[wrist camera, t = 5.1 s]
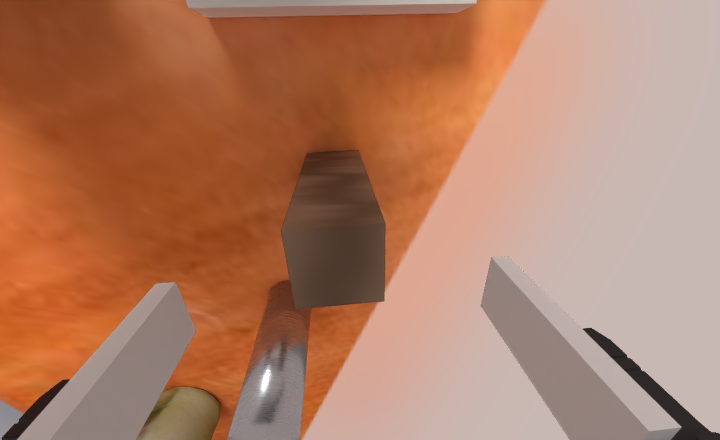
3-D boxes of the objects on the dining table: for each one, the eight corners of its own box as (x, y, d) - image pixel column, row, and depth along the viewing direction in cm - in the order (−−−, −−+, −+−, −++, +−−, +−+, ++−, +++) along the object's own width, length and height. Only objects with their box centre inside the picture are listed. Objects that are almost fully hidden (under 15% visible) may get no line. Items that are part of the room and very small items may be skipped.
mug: (241, 434, 39) (183, 525, 30) (183, 420, 42) (113, 500, 33) (225, 364, 36) (154, 444, 27) (163, 354, 39) (78, 423, 29)
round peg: (273, 314, 32) (236, 461, 20) (265, 282, 30) (218, 425, 18) (314, 310, 33) (303, 453, 20) (309, 278, 30) (294, 416, 18)
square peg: (312, 200, 26) (295, 309, 14) (307, 152, 24) (281, 231, 12) (359, 197, 26) (384, 301, 14) (358, 150, 24) (385, 223, 12)
